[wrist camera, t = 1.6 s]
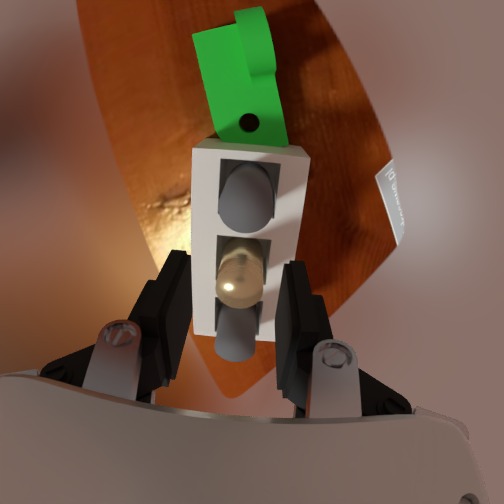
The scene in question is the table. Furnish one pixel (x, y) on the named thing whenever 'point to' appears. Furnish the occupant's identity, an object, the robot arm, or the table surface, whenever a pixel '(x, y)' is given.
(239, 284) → the brass knob
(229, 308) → the far knob
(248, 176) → the near knob
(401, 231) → the table surface
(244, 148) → the white peg holder block
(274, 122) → the mechanical part
